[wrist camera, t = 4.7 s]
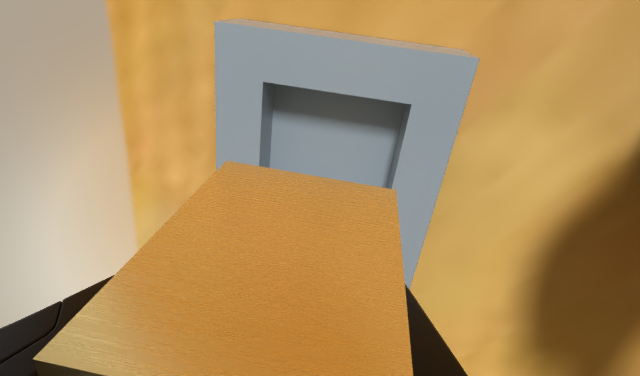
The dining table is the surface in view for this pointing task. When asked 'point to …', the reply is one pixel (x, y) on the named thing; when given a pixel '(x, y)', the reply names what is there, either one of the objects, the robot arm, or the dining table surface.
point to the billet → (253, 287)
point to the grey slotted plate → (342, 111)
